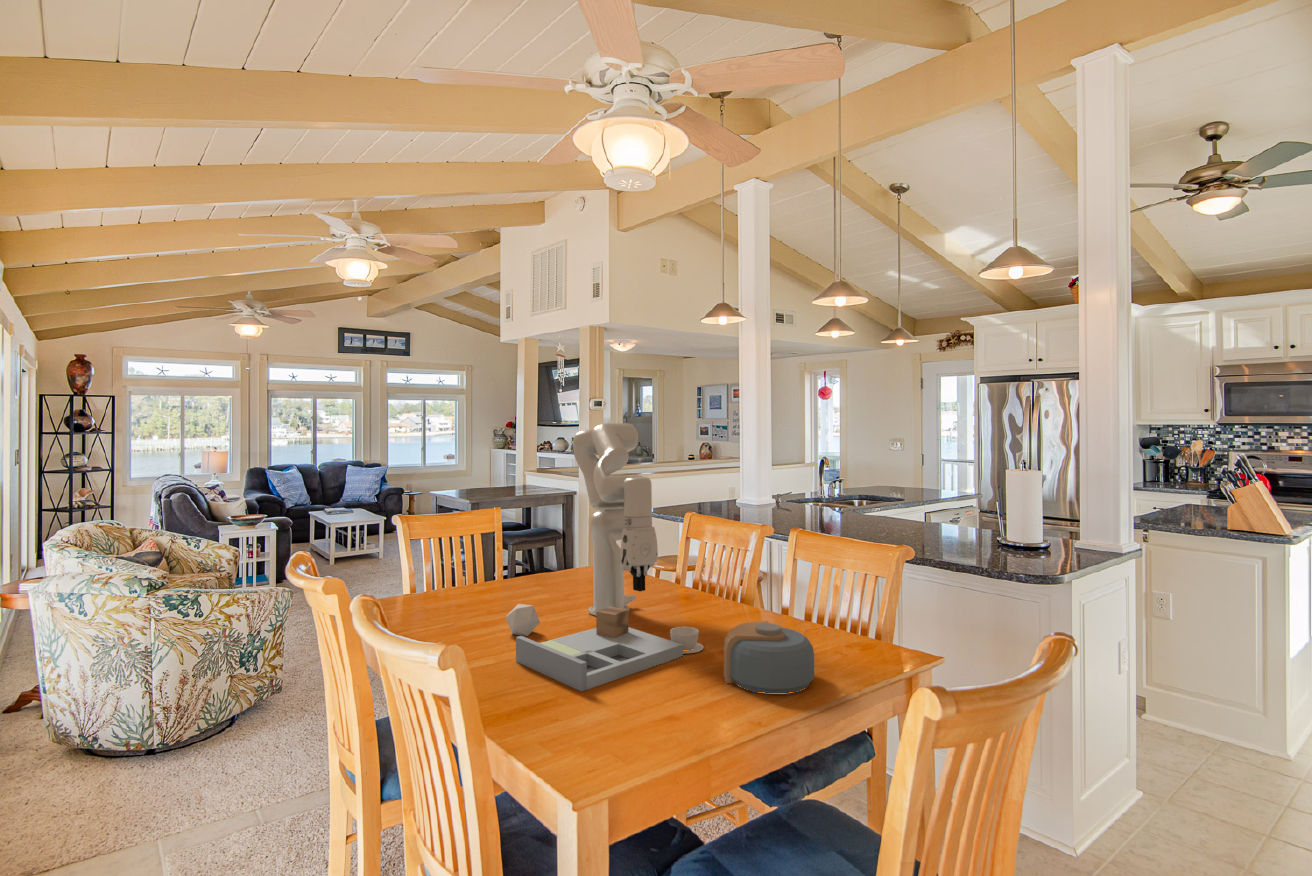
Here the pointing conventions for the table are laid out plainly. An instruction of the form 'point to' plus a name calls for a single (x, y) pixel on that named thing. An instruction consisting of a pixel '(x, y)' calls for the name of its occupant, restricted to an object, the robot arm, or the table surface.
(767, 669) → the grey knobbed dome
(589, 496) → the robot arm
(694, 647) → the teacup
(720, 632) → the table surface
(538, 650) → the board
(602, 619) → the walnut block
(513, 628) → the die
